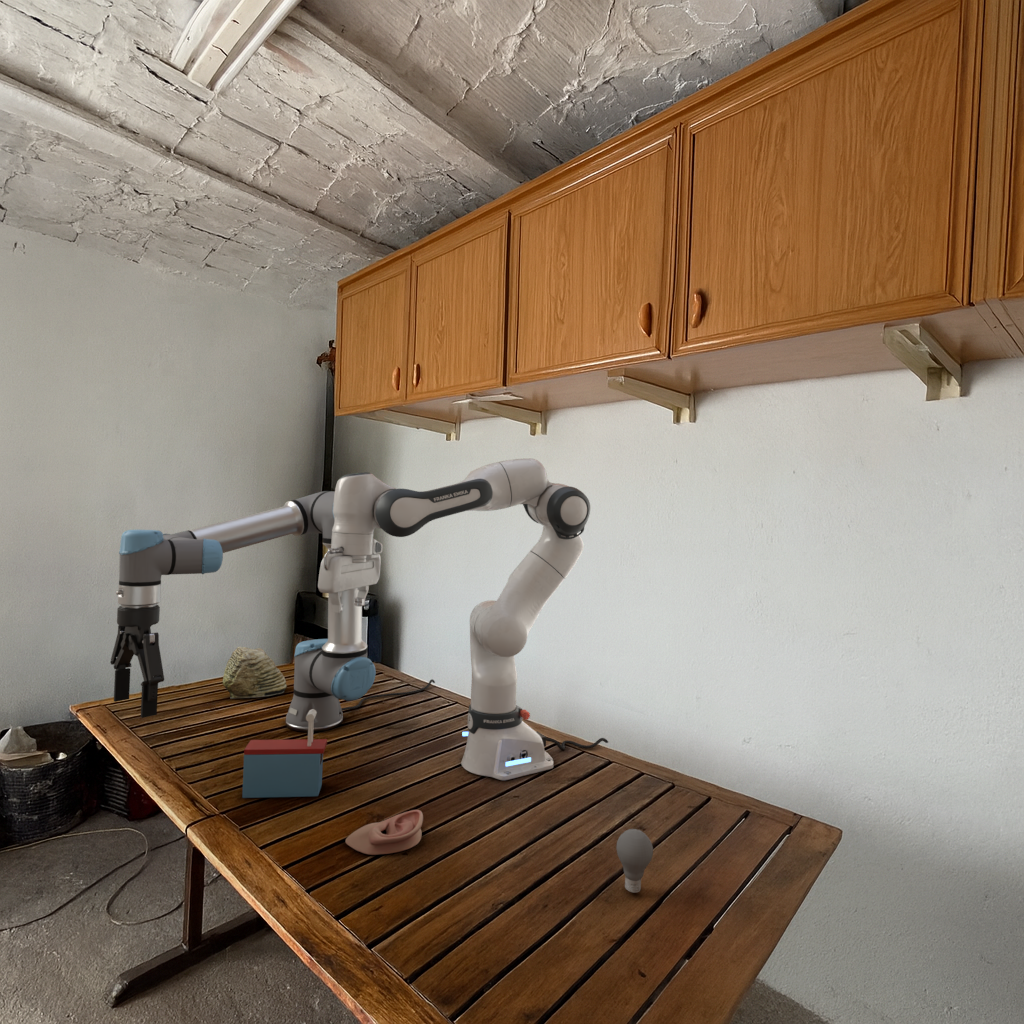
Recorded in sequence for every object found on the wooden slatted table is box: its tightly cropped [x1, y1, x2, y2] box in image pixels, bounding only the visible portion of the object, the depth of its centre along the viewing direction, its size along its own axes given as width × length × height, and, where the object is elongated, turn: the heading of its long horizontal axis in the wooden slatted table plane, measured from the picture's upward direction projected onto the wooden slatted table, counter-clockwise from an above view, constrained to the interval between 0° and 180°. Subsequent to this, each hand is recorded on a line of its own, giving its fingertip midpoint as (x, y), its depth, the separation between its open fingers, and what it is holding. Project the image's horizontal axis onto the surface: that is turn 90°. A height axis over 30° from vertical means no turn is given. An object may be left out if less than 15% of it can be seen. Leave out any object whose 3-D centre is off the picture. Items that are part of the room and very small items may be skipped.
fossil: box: [222, 646, 288, 699], centre depth 198 cm, size 9×18×15 cm, turn 132°
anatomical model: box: [344, 809, 424, 856], centre depth 118 cm, size 13×4×12 cm
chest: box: [242, 753, 324, 799], centre depth 135 cm, size 15×5×9 cm, turn 98°
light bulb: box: [615, 828, 654, 894], centre depth 106 cm, size 6×6×10 cm
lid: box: [243, 709, 328, 756], centre depth 135 cm, size 16×5×8 cm, turn 98°
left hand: (134, 707), depth 130 cm, fingers open, 13 cm apart
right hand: (348, 609), depth 139 cm, fingers open, 8 cm apart
